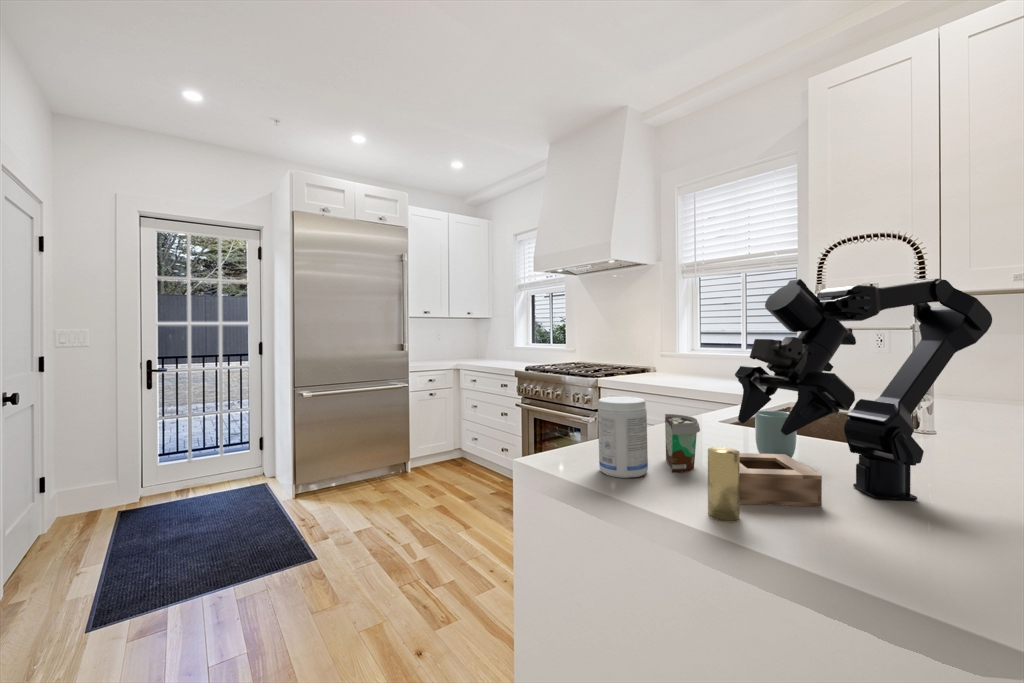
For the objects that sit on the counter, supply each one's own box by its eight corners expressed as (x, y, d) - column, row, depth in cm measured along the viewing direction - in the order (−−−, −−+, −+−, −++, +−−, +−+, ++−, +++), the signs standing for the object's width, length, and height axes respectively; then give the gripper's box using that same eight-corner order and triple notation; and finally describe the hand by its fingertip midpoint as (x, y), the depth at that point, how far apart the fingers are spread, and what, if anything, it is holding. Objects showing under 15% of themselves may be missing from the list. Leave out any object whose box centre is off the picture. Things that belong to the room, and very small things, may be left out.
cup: (763, 463, 98) (762, 416, 98) (750, 453, 105) (750, 410, 105) (802, 464, 96) (802, 417, 96) (787, 454, 104) (787, 410, 104)
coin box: (785, 480, 86) (785, 454, 86) (821, 506, 73) (821, 475, 73) (712, 478, 88) (712, 452, 88) (735, 503, 75) (735, 473, 75)
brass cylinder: (733, 511, 72) (733, 447, 72) (744, 522, 68) (743, 454, 68) (704, 509, 73) (704, 446, 72) (712, 521, 68) (712, 454, 68)
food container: (706, 476, 89) (706, 425, 89) (672, 474, 91) (672, 424, 90) (694, 459, 101) (694, 414, 101) (665, 458, 103) (664, 413, 102)
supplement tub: (645, 466, 97) (645, 396, 96) (650, 480, 87) (649, 403, 87) (598, 464, 98) (597, 395, 98) (598, 478, 89) (597, 402, 89)
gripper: (739, 320, 83) (690, 389, 81) (832, 317, 64) (771, 406, 63) (780, 358, 85) (733, 427, 83) (881, 365, 66) (824, 453, 65)
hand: (760, 427), depth 73 cm, fingers open, 9 cm apart
